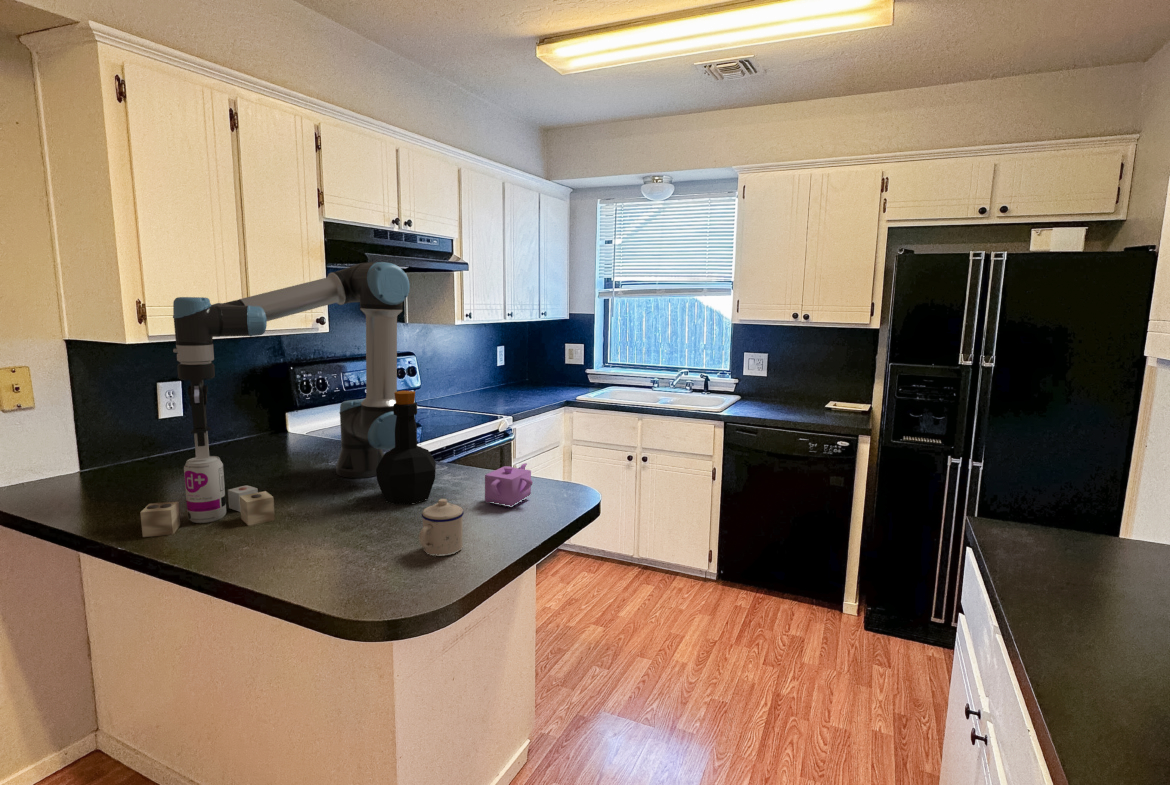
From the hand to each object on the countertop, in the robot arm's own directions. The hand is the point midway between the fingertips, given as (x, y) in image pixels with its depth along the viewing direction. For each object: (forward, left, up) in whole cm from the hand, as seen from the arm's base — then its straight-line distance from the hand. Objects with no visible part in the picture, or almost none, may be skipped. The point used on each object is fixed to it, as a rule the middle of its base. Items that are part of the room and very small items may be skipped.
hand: (202, 457), depth 153 cm
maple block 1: (+9, +5, -16) cm, 19 cm away
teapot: (-73, +20, -16) cm, 77 cm away
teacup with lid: (-46, +44, -16) cm, 66 cm away
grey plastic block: (-8, -5, -16) cm, 18 cm away
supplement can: (0, 0, -16) cm, 16 cm away
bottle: (-48, +5, -16) cm, 51 cm away
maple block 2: (-11, +6, -16) cm, 20 cm away
